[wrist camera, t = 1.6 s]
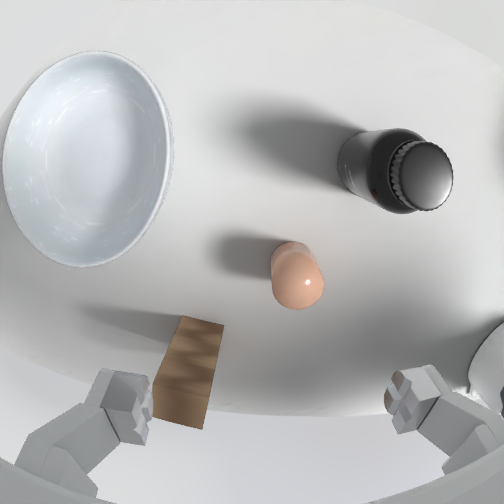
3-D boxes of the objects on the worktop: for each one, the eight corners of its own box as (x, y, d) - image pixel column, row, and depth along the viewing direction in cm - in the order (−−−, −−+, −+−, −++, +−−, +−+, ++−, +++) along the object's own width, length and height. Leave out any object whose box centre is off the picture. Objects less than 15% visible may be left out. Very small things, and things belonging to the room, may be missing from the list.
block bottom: (224, 325, 34) (219, 345, 30) (217, 356, 36) (212, 377, 32) (183, 315, 34) (174, 334, 30) (178, 347, 35) (171, 367, 32)
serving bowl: (165, 38, 24) (142, 13, 17) (214, 219, 30) (201, 238, 24) (25, 114, 26) (-11, 113, 20) (65, 263, 32) (34, 285, 26)
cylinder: (318, 247, 31) (331, 268, 25) (306, 286, 32) (314, 313, 26) (276, 237, 30) (280, 256, 25) (265, 277, 32) (266, 303, 26)
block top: (215, 369, 26) (209, 398, 23) (207, 401, 28) (202, 429, 24) (164, 356, 26) (152, 383, 22) (162, 390, 28) (152, 416, 24)
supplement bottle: (326, 182, 28) (366, 201, 17) (349, 121, 26) (402, 105, 15) (382, 208, 29) (443, 240, 18) (405, 150, 27) (474, 155, 16)
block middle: (219, 345, 30) (214, 369, 26) (212, 377, 32) (207, 401, 28) (174, 334, 30) (164, 356, 26) (171, 367, 32) (162, 390, 28)
